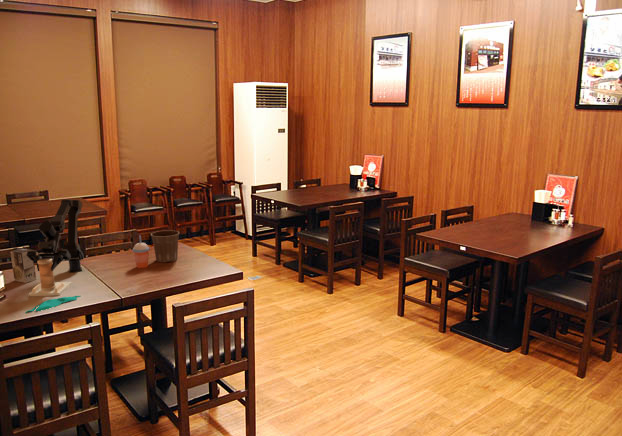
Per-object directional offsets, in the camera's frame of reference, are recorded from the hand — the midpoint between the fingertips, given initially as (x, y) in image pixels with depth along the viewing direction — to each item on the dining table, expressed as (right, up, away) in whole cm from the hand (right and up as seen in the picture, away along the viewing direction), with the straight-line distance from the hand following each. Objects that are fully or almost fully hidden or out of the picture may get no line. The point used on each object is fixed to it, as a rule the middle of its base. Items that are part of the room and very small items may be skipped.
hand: (45, 270), depth 243 cm
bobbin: (0, -9, +3) cm, 9 cm away
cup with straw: (+32, -2, +43) cm, 54 cm away
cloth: (+10, -15, -11) cm, 21 cm away
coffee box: (-21, -7, +21) cm, 31 cm away
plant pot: (+42, 0, +56) cm, 70 cm away
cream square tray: (0, -10, +7) cm, 12 cm away
